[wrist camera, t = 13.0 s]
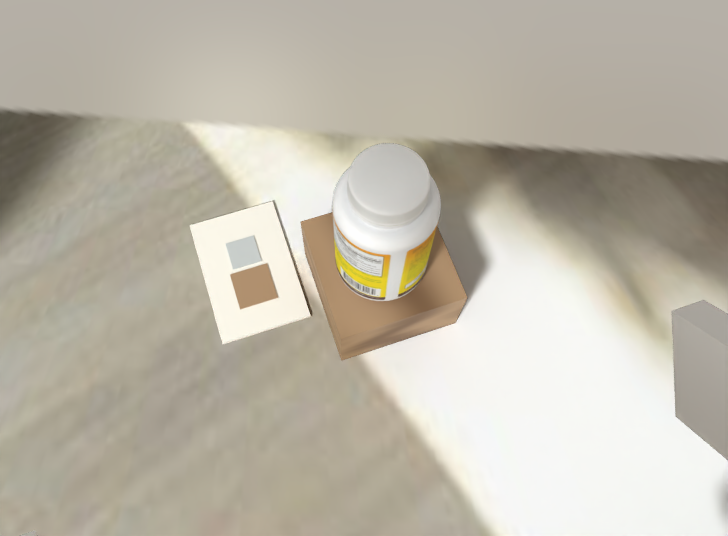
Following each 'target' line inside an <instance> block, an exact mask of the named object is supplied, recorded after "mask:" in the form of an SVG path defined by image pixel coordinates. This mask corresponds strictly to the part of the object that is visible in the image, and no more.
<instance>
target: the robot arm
mask: <svg viewBox="0 0 728 536" xmlns="http://www.w3.org/2000/svg"><path fill="white" fill-rule="evenodd" d="M672 335H673V361H674V388H675V414H676V417H677V418H678V419H679V420H680V421H682V422H683V423H684V424H685V425H686V426H688V427H689V428H690V429H691V430H692V431H693V432H695V433H696V434H697V435H698V436H699V437H701V438H702V439H703V440H704V441H705V442H707V443H708V444H709V445H710V446H711V447H713V448H714V449H715V450H716V451H717V452H718V453H720V454H721V455H722V456H723V457H724V458H726V459H727V460H728V314H727V313H726V312H724V311H722V310H720V309H719V308H717V307H715V306H713V305H712V304H710V303H708V302H706V301H705V300H702V301H699V302H696V303H693V304H690V305H688V306H685V307H682V308H679V309H676V310H673V311H672ZM20 536H38V535H37V533H36V531H35V530H34V531H31V532H28V533H26V534H23V535H20Z"/></svg>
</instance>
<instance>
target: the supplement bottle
mask: <svg viewBox="0 0 728 536" xmlns="http://www.w3.org/2000/svg"><path fill="white" fill-rule="evenodd" d="M440 211H441V198H440V193H439V190H438V187H437V185H436V183H435V181H434V179H433V178H432V177H431V175H430V173H429V170H428V167H427V165H426V163H425V162H424V160H423V159H422V158H421V157H420V156H419V155H418V154H417V153H416V152H415V151H413V150H412V149H410V148H408V147H406V146H403V145H399V144H394V143H382V144H377V145H374V146H371V147H369V148H367V149H365V150H364V151H362V152H361V153H360V154H359V155H358V156H357V157H356V158H355V159H354V161H353V163H352V164H351V166H350V167H349V168H348V169H347V170H346V171H345V172H344V173H343V175H342V176H341V177H340V179H339V181H338V182H337V184H336V187H335V190H334V193H333V201H332V212H333V226H334V243H335V261H336V266H337V270H338V273H339V275H340V277H341V279H342V281H343V282H344V283H345V285H346V286H347V287H348V288H349V289H350V290H352V291H353V292H354V293H356V294H357V295H359V296H361V297H363V298H366V299H369V300H374V301H390V300H394V299H398V298H400V297H402V296H404V295H406V294H408V293H409V292H410V291H412V290H413V289H414V288H415V287H416V286H417V285H418V284H419V282H420V281H421V279H422V277H423V275H424V273H425V270H426V267H427V263H428V259H429V255H430V251H431V247H432V243H433V239H434V236H435V232H436V228H437V224H438V221H439V217H440Z"/></svg>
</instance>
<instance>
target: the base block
mask: <svg viewBox="0 0 728 536" xmlns="http://www.w3.org/2000/svg"><path fill="white" fill-rule="evenodd" d="M301 228H302V235H303V242H304V249H305V255H306V258H307V260H308V263H309V266H310V269H311V272H312V275H313V278H314V281H315V284H316V287H317V290H318V293H319V296H320V299H321V302H322V304H323V307H324V310H325V313H326V316H327V319H328V322H329V325H330V328H331V331H332V334H333V337H334V340H335V343H336V346H337V348H338V351H339V354H340V357H341V360H345V359H348V358H351V357H354V356H357V355H360V354H363V353H366V352H369V351H372V350H375V349H378V348H381V347H384V346H387V345H390V344H393V343H396V342H399V341H402V340H405V339H408V338H411V337H414V336H417V335H420V334H423V333H426V332H429V331H432V330H435V329H438V328H441V327H445V326H448V325H451V324H454V323H456V321H457V319H458V316H459V314H460V312H461V310H462V308H463V306H464V304H465V302H466V300H467V295H466V293H465V291H464V288H463V286H462V283H461V281H460V279H459V276H458V274H457V272H456V269H455V267H454V265H453V262H452V260H451V258H450V255H449V253H448V250H447V248H446V246H445V243H444V241H443V239H442V236H441V234H440V232H439V229H438V227H437V228H436V232H435V236H434V239H433V243H432V247H431V251H430V255H429V259H428V263H427V267H426V270H425V273H424V275H423V277H422V279H421V281H420V282H419V284H418V285H417V286H416V287H415V288H414V289H413V290H412V291H410V292H409V293H408V294H406V295H404V296H402V297H400V298H398V299H394V300H390V301H374V300H369V299H366V298H363V297H361V296H359V295H357V294H356V293H354V292H353V291H352V290H350V289H349V288H348V287H347V286H346V285H345V283H344V282H343V281H342V279H341V277H340V275H339V273H338V270H337V266H336V261H335V243H334V226H333V212H332V213H328V214H325V215H322V216H318V217H315V218H312V219H308V220H305V221H301Z"/></svg>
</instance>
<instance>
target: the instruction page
mask: <svg viewBox="0 0 728 536" xmlns="http://www.w3.org/2000/svg"><path fill="white" fill-rule="evenodd" d="M190 229H191V232H192V236H193V239H194V243H195V246H196V250H197V254H198V257H199V261H200V264H201V268H202V272H203V275H204V279H205V282H206V286H207V290H208V293H209V297H210V300H211V304H212V307H213V311H214V315H215V318H216V322H217V325H218V329H219V333H220V336H221V340H222V343H223V344H226V343H230V342H233V341H236V340H239V339H242V338H245V337H248V336H252V335H255V334H258V333H261V332H264V331H267V330H270V329H274V328H277V327H280V326H283V325H286V324H289V323H292V322H295V321H299V320H302V319H305V318H308V317H311V315H310V312H309V309H308V306H307V303H306V300H305V297H304V294H303V291H302V288H301V285H300V282H299V279H298V276H297V273H296V270H295V267H294V264H293V261H292V258H291V255H290V252H289V249H288V246H287V243H286V240H285V237H284V234H283V231H282V228H281V225H280V222H279V219H278V216H277V213H276V210H275V207H274V204H273V201H271V202H268V203H264V204H261V205H258V206H254V207H251V208H247V209H244V210H240V211H237V212H234V213H230V214H227V215H223V216H220V217H216V218H213V219H210V220H206V221H203V222H199V223H196V224H192V225H190Z"/></svg>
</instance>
